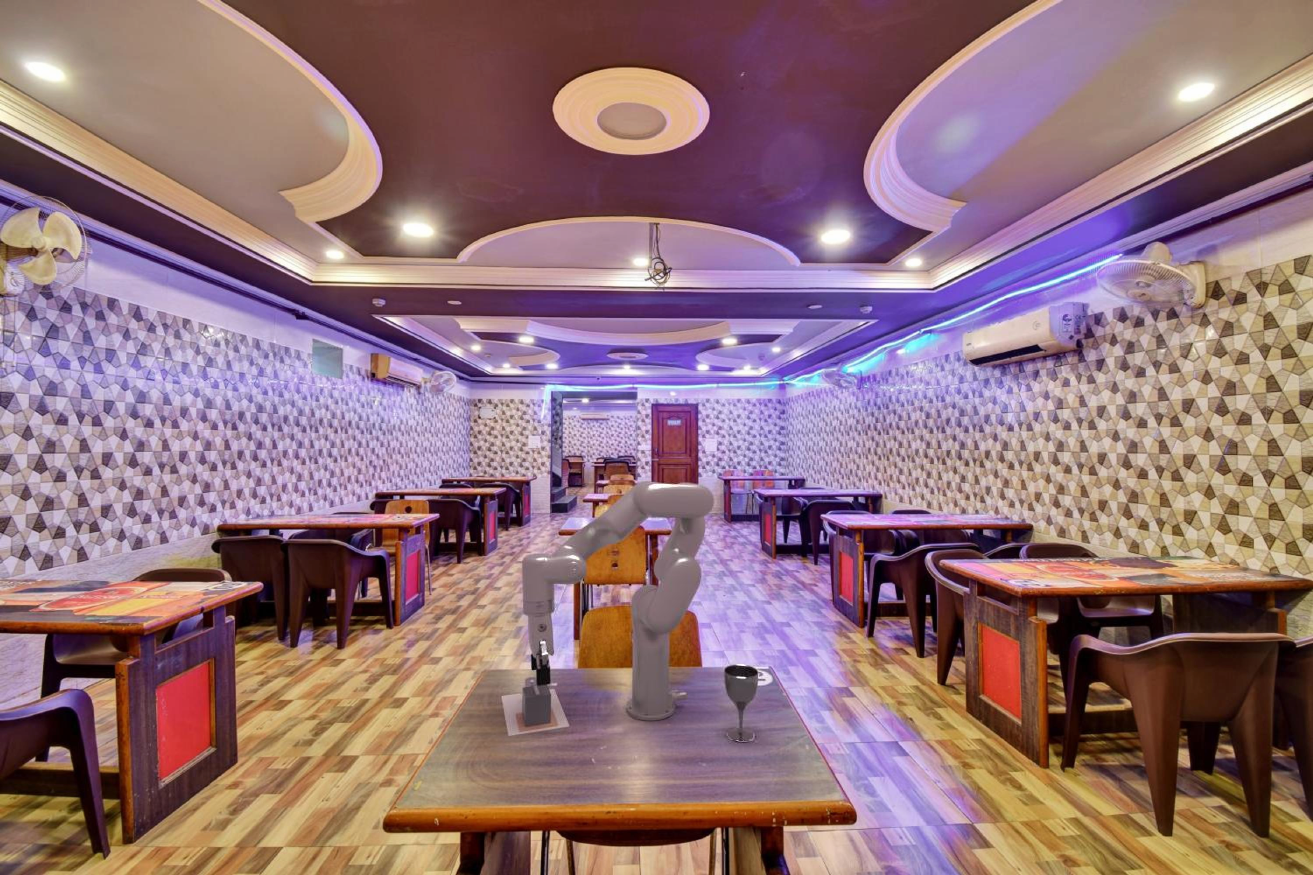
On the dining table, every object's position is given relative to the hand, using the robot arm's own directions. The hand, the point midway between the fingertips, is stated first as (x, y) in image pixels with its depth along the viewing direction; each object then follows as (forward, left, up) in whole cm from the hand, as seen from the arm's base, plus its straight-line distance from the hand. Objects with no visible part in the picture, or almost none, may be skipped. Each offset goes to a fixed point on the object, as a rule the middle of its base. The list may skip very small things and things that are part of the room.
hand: (540, 676), depth 135 cm
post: (+1, -11, -10) cm, 15 cm away
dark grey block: (+1, 0, -10) cm, 10 cm away
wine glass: (-44, +19, -12) cm, 50 cm away
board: (+1, -6, -12) cm, 13 cm away
